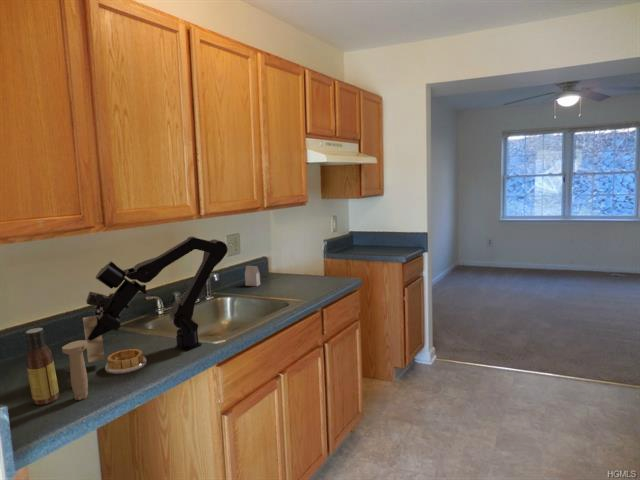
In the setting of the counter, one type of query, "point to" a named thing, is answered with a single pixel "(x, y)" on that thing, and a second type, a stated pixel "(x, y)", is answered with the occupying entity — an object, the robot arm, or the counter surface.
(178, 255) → the robot arm
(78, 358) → the handle
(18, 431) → the counter surface
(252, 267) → the small carton
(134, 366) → the segmented gold bowl
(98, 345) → the post
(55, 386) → the sauce bottle
